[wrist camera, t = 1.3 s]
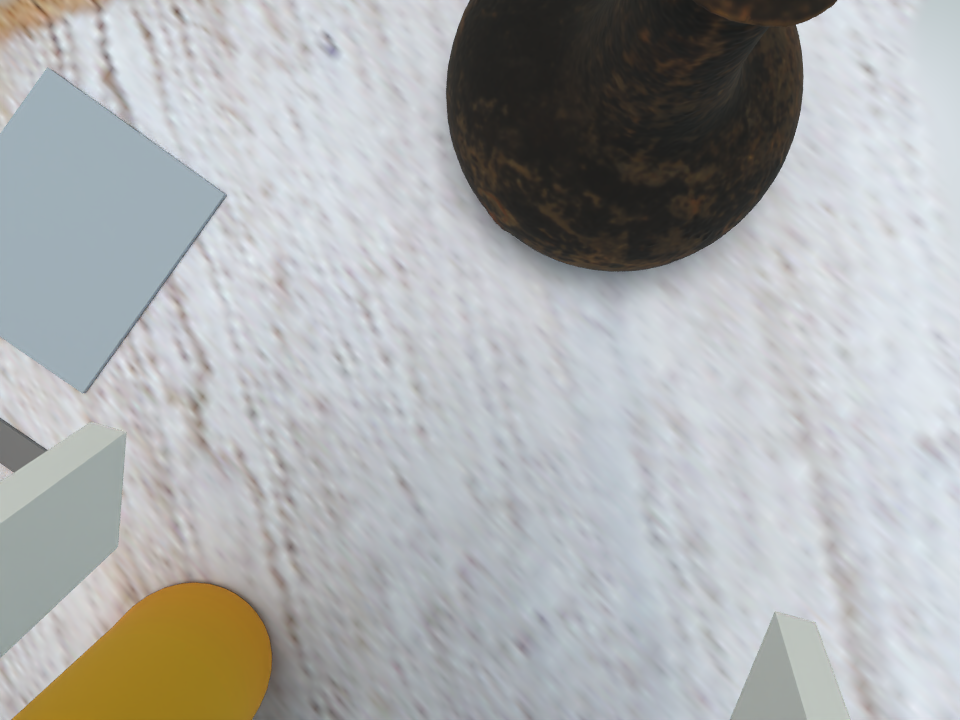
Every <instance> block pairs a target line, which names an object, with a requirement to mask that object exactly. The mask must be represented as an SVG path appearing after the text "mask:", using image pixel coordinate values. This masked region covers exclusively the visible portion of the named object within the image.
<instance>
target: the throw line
mask: <svg viewBox="0 0 960 720" xmlns="http://www.w3.org/2000/svg"><path fill="white" fill-rule="evenodd" d="M46 451H47V450H46V449H44V448H43V447H41V446H40V445H39V444H37V443H36V442H34V441H33V440H31V439H30V438H28V437H27V436H25V435H24V434H22V433H21V432H20V431H18V430H17V429H15V428H14V427H12V426H11V425H9V424H8V423H6V422H5V421H3V420H2V419H0V463H1V464H2V465H4V466H5V467H7V468H8V469H10V470H11V471H13V472H16V471H17V470H19V469H20V468H22V467H23V466H25V465H26V464H28V463H30V462H31V461H33V460H34V459H36V458H37V457H39V456H40V455H42V454H43V453H45V452H46Z"/></svg>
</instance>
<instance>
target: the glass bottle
mask: <svg viewBox="0 0 960 720" xmlns="http://www.w3.org/2000/svg"><path fill="white" fill-rule="evenodd" d="M836 1H837V0H470V1H469V3H468V5H467V7H466V9H465V11H464V13H463V16H462V19H461V21H460V24H459V26H458V29H457V33H456V36H455V39H454V42H453V46H452V51H451V55H450V60H449V64H448V71H447V88H446V99H447V114H448V124H449V128H450V135H451V139H452V142H453V147H454V150H455V152H456V155H457V158H458V161H459V163H460V166H461V169H462V171H463V173H464V175H465V177H466V179H467V181H468V183H469V185H470V186H471V188H472V190H473V192H474V193H475V194H476V196H477V198H478V199H479V201H480V202H481V203H482V205H483V206H484V207H485V208H486V210H487V211H488V213H489V214H490V216H491V217H492V218H493V220H494V221H495V222H496V223H497V224H498V225H499V226H500V227H501V228H502V229H503V230H505V231H507V232H509V233H511V234H512V235H513V236H515V237H516V238H518V239H519V240H520V241H522V242H523V243H525V244H527V245H528V246H530V247H531V248H533V249H535V250H536V251H538V252H540V253H542V254H544V255H546V256H548V257H551V258H553V259H555V260H558V261H561V262H563V263H566V264H570V265H573V266H577V267H582V268H587V269H593V270H601V271H636V270H644V269H649V268H654V267H658V266H662V265H666V264H670V263H672V262H674V261H677V260H679V259H682V258H684V257H687V256H689V255H691V254H693V253H695V252H697V251H699V250H701V249H703V248H705V247H706V246H708V245H710V244H712V243H713V242H715V241H716V240H718V239H719V238H721V237H722V236H723V235H724V234H726V233H727V232H728V231H730V230H731V229H732V228H733V227H735V226H736V225H737V224H738V223H739V222H740V221H741V220H742V219H743V218H744V217H745V216H746V215H747V214H748V213H749V212H750V211H751V210H752V209H753V207H754V206H755V205H756V204H757V203H758V202H759V201H760V200H761V198H762V197H763V195H764V194H765V192H766V191H767V190H768V188H769V187H770V185H771V184H772V182H773V181H774V179H775V178H776V176H777V174H778V173H779V171H780V169H781V167H782V165H783V163H784V161H785V159H786V156H787V154H788V151H789V149H790V146H791V144H792V141H793V138H794V135H795V132H796V128H797V124H798V120H799V116H800V111H801V103H802V94H803V62H802V51H801V45H800V40H799V35H798V31H797V27H796V24H799V23H803V22H805V21H808V20H810V19H812V18H813V17H816V16H818V15H819V14H821V13H823V12H824V11H825V10H827V9H828V8H830V7H832V6H833V5H834V4H835V3H836Z"/></svg>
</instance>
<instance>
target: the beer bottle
mask: <svg viewBox="0 0 960 720" xmlns="http://www.w3.org/2000/svg"><path fill="white" fill-rule="evenodd" d="M271 667H272V651H271V645H270V639H269V636H268V633H267V631H266V628H265V626H264V624H263V622H262V621H261V619H260V617H259V615H258V614H257V613H256V612H255V611H254V609H253V608H252V607H251V606H250V605H249V604H248V603H247V602H246V601H244V600H243V599H242V598H241V597H239V596H238V595H236V594H235V593H233V592H231V591H229V590H227V589H225V588H222V587H219V586H215V585H212V584H205V583H182V584H178V585H174V586H170V587H166V588H164V589H161V590H159V591H157V592H155V593H153V594H151V595H149V596H147V597H146V598H144V599H143V600H141V601H140V602H139V603H137V604H136V605H134V606H133V607H132V608H131V609H130V610H129V611H128V612H127V613H126V614H125V615H124V616H123V617H122V618H121V619H120V620H119V621H118V622H117V623H116V624H115V625H114V626H113V627H112V628H111V629H110V630H109V631H108V632H107V633H106V634H105V635H103V636H102V637H101V638H100V639H99V640H98V641H97V642H96V643H95V644H94V645H93V646H91V647H90V648H89V649H88V650H87V651H86V652H85V653H84V654H83V655H82V656H80V657H79V658H78V659H77V660H76V661H75V662H74V663H73V664H72V665H71V666H70V667H68V668H67V669H66V670H65V671H64V672H63V673H62V674H61V675H60V676H59V677H58V678H56V679H55V680H54V681H53V682H52V683H51V684H50V685H49V686H48V687H47V688H45V689H44V690H43V691H42V692H41V693H40V694H39V695H38V696H37V697H36V698H35V699H33V700H32V701H31V702H30V703H29V704H28V705H27V706H26V707H25V708H24V709H23V710H21V711H20V712H19V713H18V714H17V715H16V716H15V717H14V718H13V719H12V720H252V719H253V717H254V715H255V714H256V712H257V710H258V708H259V707H260V705H261V702H262V700H263V698H264V695H265V693H266V691H267V688H268V683H269V679H270V674H271Z"/></svg>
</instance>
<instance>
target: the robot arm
mask: <svg viewBox="0 0 960 720" xmlns="http://www.w3.org/2000/svg"><path fill="white" fill-rule="evenodd" d="M125 445H126V432H125V431H122V430H118V429H114V428H111V427H107V426H104V425H100V424H96V423H93V422H90V423H89V424H87V425H86V426H84V427H83V428H81V429H80V430H78V431H77V432H75V433H73V434H72V435H70V436H69V437H67V438H66V439H64V440H63V441H61V442H60V443H58V444H57V445H55V446H54V447H52V448H51V449H49V450H48V451H46V452H45V453H43V454H42V455H40V456H39V457H37V458H36V459H34V460H33V461H31V462H30V463H28V464H26V465H25V466H23V467H22V468H20V469H19V470H17V471H16V472H14V473H13V474H11V475H10V476H8V477H7V478H5V479H4V480H2V481H1V482H0V658H1V657H2V656H3V655H4V654H5V653H6V652H7V651H8V650H9V649H10V648H11V647H13V646H14V645H15V644H16V643H17V642H18V641H19V640H20V639H21V638H22V637H23V636H24V635H25V634H26V633H27V632H28V631H29V630H30V629H32V628H33V627H34V626H35V625H36V624H37V623H38V622H39V621H40V620H41V619H42V618H43V617H44V616H45V615H46V614H47V613H48V612H50V611H51V610H52V609H53V608H54V607H55V606H56V605H57V604H58V603H59V602H60V601H61V600H62V599H63V598H64V597H65V596H66V595H68V594H69V593H70V592H71V591H72V590H73V589H74V588H75V587H76V586H77V585H78V584H79V583H80V582H81V581H82V580H83V579H84V578H85V577H87V576H88V575H89V574H90V573H91V572H92V571H93V570H94V569H95V568H96V567H97V566H98V565H99V564H100V563H101V562H102V561H103V560H105V559H106V558H107V557H108V556H109V555H110V554H111V553H112V552H113V551H114V550H115V549H116V548H117V547H118V539H119V526H120V512H121V499H122V486H123V472H124V459H125ZM730 720H851V719H850V716H849V714H848V711H847V708H846V705H845V703H844V700H843V697H842V694H841V692H840V689H839V686H838V683H837V681H836V678H835V675H834V672H833V670H832V667H831V664H830V661H829V659H828V656H827V653H826V650H825V648H824V645H823V642H822V639H821V637H820V634H819V631H818V628H817V626H816V623H815V622H812V621H809V620H805V619H801V618H798V617H794V616H790V615H787V614H783V613H780V612H776V611H775V613H774V615H773V617H772V620H771V622H770V625H769V627H768V630H767V632H766V634H765V637H764V639H763V642H762V644H761V646H760V649H759V651H758V654H757V656H756V658H755V661H754V663H753V666H752V668H751V670H750V673H749V675H748V678H747V680H746V682H745V685H744V687H743V690H742V692H741V695H740V697H739V699H738V702H737V704H736V707H735V709H734V711H733V714H732V716H731V719H730Z"/></svg>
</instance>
